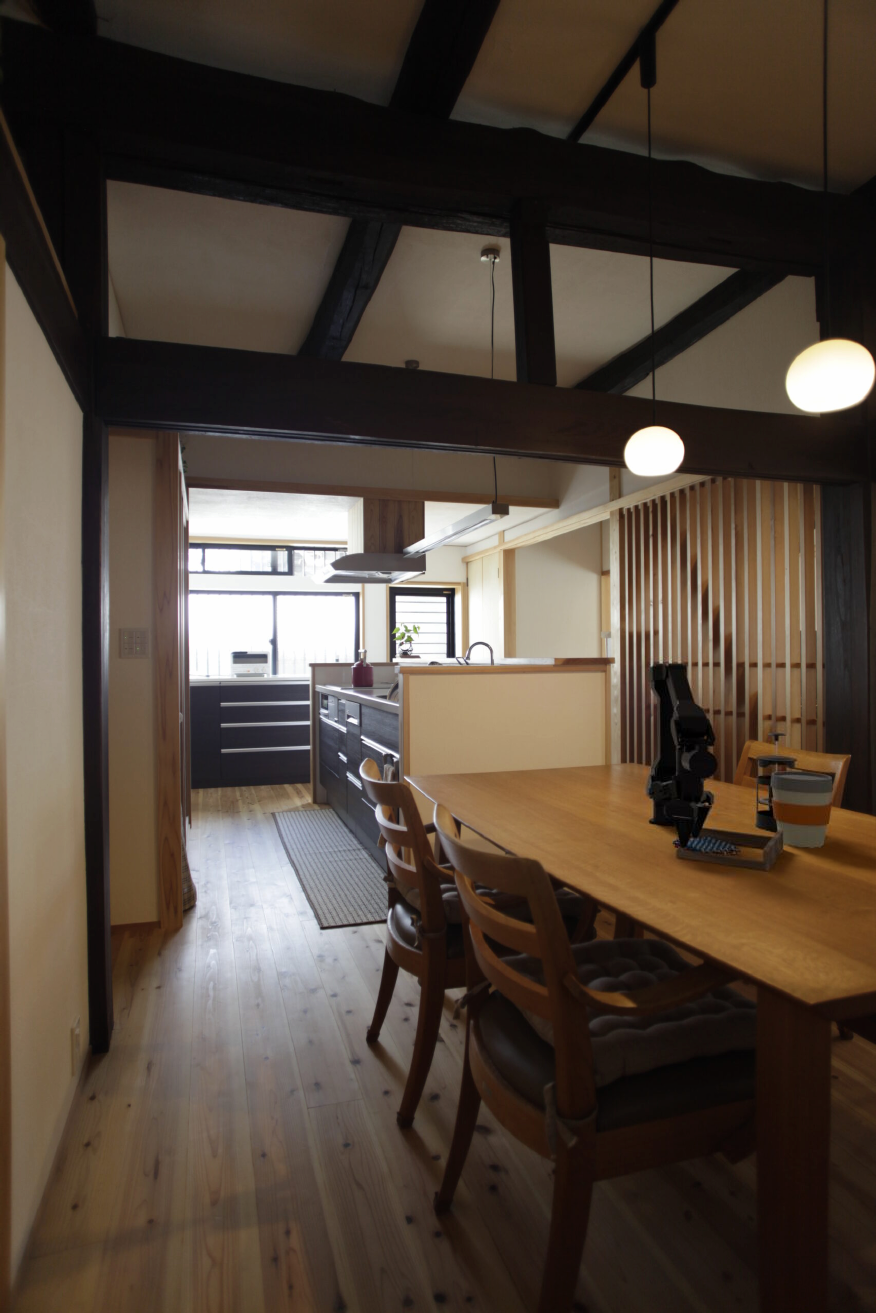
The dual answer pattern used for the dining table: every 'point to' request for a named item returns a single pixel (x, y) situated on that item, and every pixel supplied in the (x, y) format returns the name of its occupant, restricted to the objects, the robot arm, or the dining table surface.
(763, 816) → the french press
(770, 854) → the box
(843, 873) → the dining table surface
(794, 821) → the reusable coffee cup
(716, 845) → the woven mat
